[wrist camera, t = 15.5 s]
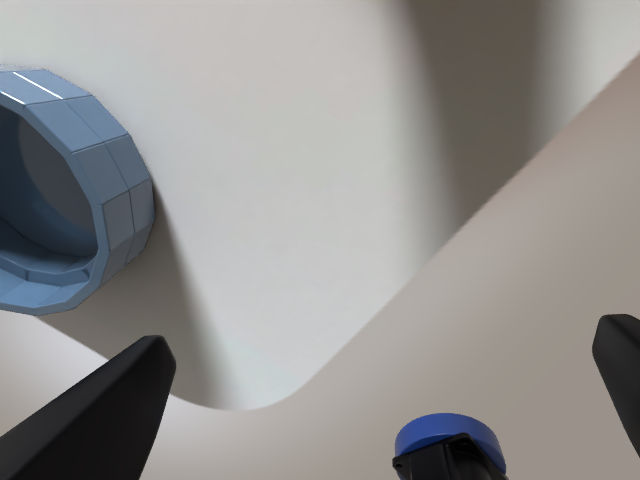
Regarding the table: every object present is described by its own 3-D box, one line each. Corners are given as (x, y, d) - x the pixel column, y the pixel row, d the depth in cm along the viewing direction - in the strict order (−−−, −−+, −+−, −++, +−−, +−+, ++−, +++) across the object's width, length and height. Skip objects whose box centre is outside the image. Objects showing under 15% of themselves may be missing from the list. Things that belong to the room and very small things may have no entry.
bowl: (199, 202, 21) (158, 237, 17) (81, 302, 26) (28, 348, 22) (17, 8, 18) (-86, -5, 14) (-82, 161, 22) (-181, 184, 18)
